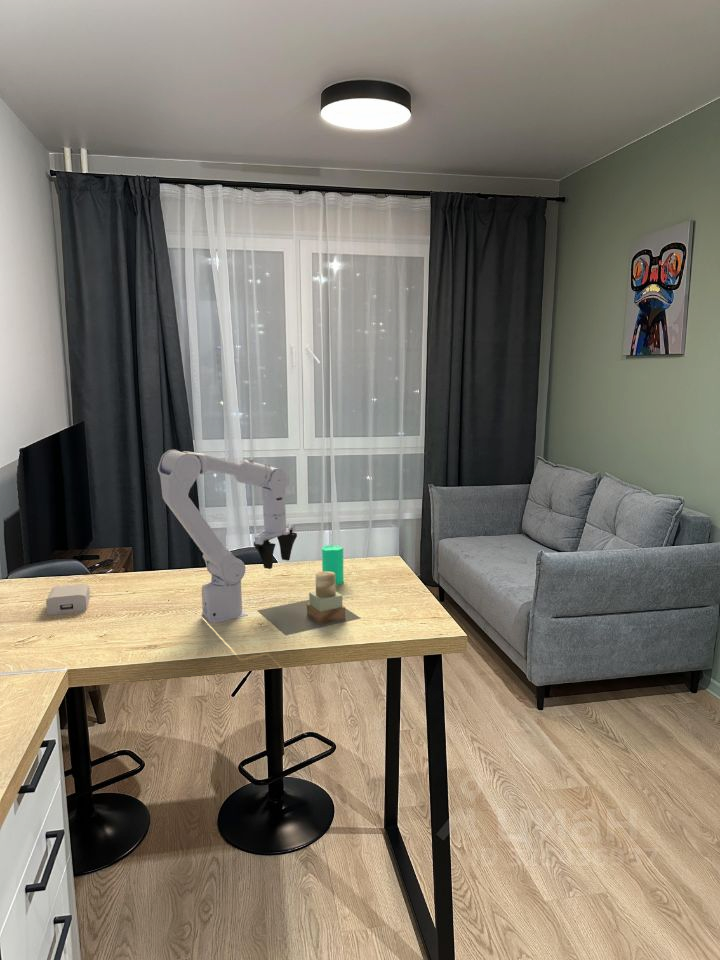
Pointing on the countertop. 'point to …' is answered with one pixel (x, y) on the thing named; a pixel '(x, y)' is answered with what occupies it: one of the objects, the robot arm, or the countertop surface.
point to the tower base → (325, 614)
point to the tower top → (325, 601)
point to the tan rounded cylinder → (325, 584)
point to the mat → (297, 618)
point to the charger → (68, 599)
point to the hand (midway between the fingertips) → (277, 563)
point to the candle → (333, 561)
